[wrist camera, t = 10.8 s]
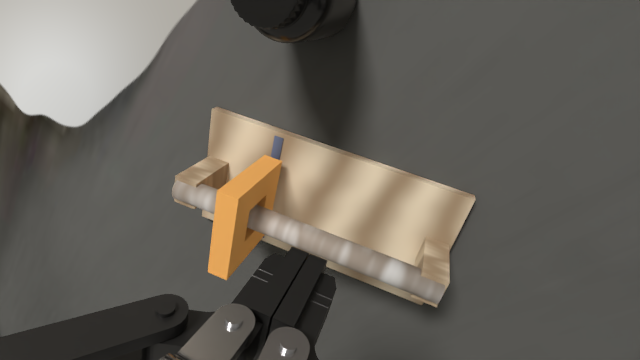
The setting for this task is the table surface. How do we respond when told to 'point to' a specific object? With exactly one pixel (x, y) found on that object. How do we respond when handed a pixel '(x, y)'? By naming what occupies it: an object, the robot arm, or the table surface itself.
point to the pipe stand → (337, 206)
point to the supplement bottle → (295, 17)
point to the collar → (241, 214)
